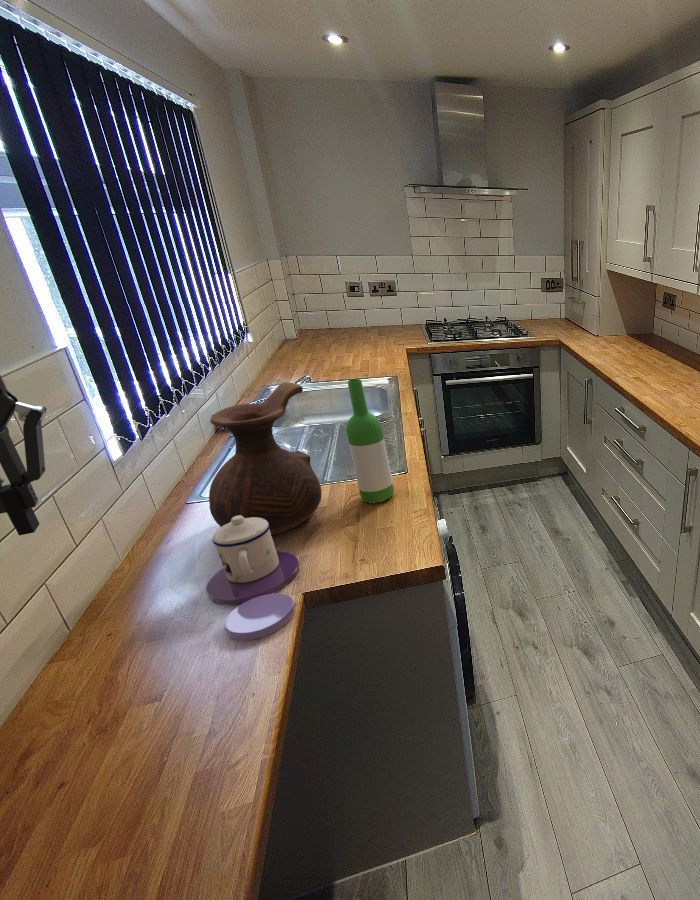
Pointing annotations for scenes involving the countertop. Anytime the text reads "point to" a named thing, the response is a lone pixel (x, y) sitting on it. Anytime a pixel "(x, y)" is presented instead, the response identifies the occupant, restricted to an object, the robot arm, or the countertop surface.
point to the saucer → (252, 583)
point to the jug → (263, 468)
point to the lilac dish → (260, 616)
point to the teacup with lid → (246, 549)
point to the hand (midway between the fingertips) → (29, 529)
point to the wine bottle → (368, 449)
